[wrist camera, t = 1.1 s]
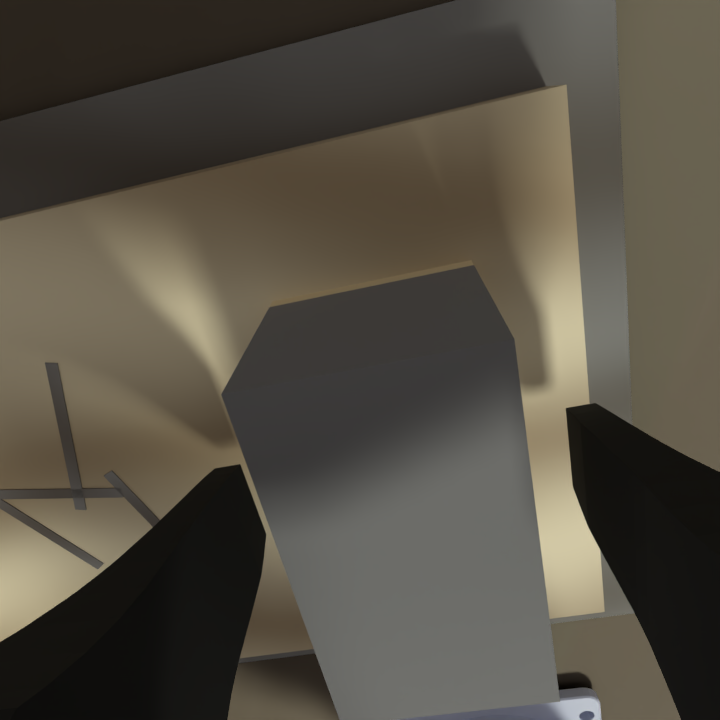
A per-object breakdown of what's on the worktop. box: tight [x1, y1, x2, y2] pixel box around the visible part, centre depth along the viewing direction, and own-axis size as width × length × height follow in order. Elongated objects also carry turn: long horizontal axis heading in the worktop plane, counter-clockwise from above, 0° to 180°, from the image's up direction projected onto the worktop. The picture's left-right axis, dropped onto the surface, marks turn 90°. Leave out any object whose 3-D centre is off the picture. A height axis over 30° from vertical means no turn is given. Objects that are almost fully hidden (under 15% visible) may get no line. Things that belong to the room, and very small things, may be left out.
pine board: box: [0, 0, 634, 663], centre depth 16 cm, size 18×23×2 cm
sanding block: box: [221, 260, 560, 720], centre depth 12 cm, size 8×4×4 cm, turn 13°
